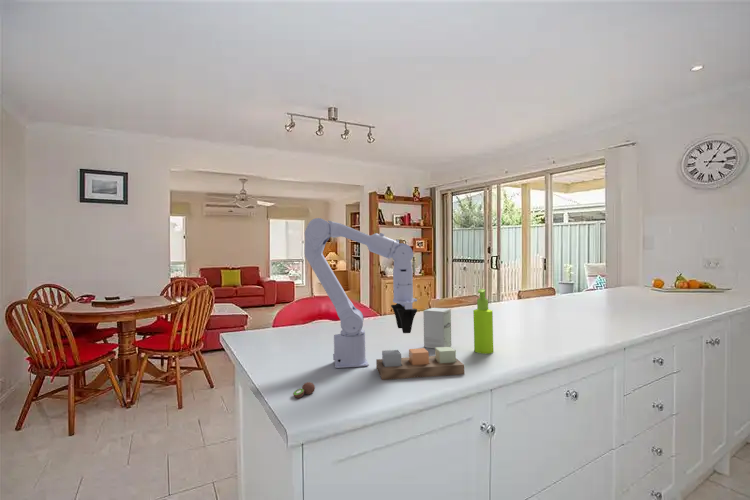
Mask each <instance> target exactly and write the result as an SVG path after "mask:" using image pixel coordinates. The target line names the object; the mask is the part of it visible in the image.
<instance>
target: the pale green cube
mask: <svg viewBox="0 0 750 500" xmlns="http://www.w3.org/2000/svg"><path fill="white" fill-rule="evenodd" d="M434 352H435V353H434V356H435V360H436V361H437V362H438V363H454V362H456V359H457V358H456V356H457V355H456V354H457V353H456V352H457V351H456V349H454V348H453V347H451V346H448V347H436V348H435V349H434Z"/></svg>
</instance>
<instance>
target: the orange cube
mask: <svg viewBox="0 0 750 500" xmlns="http://www.w3.org/2000/svg"><path fill="white" fill-rule="evenodd" d="M429 356H430V353H429V351H428V350H427V349H426V347H419V348H408V357H409V362H410V363H411V365H423V364H429Z"/></svg>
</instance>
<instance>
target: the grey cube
mask: <svg viewBox="0 0 750 500" xmlns="http://www.w3.org/2000/svg"><path fill="white" fill-rule="evenodd" d="M381 352H382V354H381V355H382V356H381V357H382V358H381V359H382V364H383V366H384V367H393V366H401V358H402V353H401V351H400V350H399V349H392V350H391V349H389V350H388V349H387V350H386V349H385V350H382V351H381Z"/></svg>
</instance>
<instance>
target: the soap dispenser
mask: <svg viewBox="0 0 750 500" xmlns="http://www.w3.org/2000/svg"><path fill="white" fill-rule="evenodd" d="M486 291H487V289H486V288H478V290H477V293H478V294H479V298H477V301H476V302H477V303H476V305H477V306H476V307H477V309H474V310H472V311H473V341H474V342H473V344H474V345H473V346H474V347H473V348H474V352H475V353H477V354H483V355H484V354H486V355H487V354H493V353H494V326H493V325H494V324H493V323H494V321H493V317H494V316H493V310H492V309H489V299H488V298H486Z"/></svg>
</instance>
